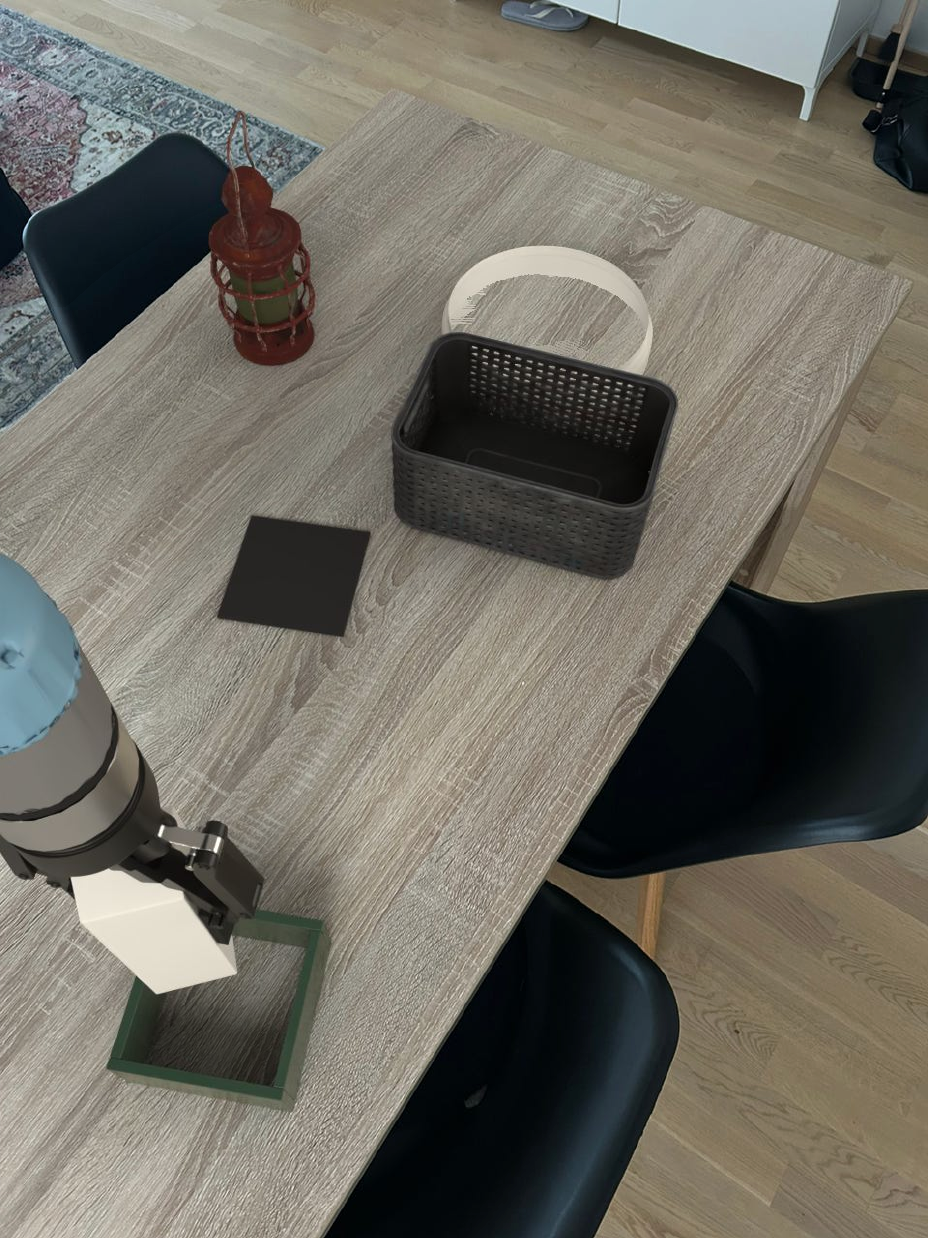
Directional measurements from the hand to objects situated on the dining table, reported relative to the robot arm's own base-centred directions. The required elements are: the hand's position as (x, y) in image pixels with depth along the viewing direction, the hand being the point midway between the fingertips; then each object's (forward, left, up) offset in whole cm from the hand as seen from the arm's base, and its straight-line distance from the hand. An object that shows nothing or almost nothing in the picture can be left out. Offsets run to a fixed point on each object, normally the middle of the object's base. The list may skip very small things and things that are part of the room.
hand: (168, 913), depth 71 cm
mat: (-6, +45, -25) cm, 52 cm away
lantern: (-18, +81, -26) cm, 87 cm away
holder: (0, -1, -25) cm, 25 cm away
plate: (+17, +86, -26) cm, 91 cm away
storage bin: (+18, +61, -26) cm, 68 cm away
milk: (0, 0, -8) cm, 8 cm away
